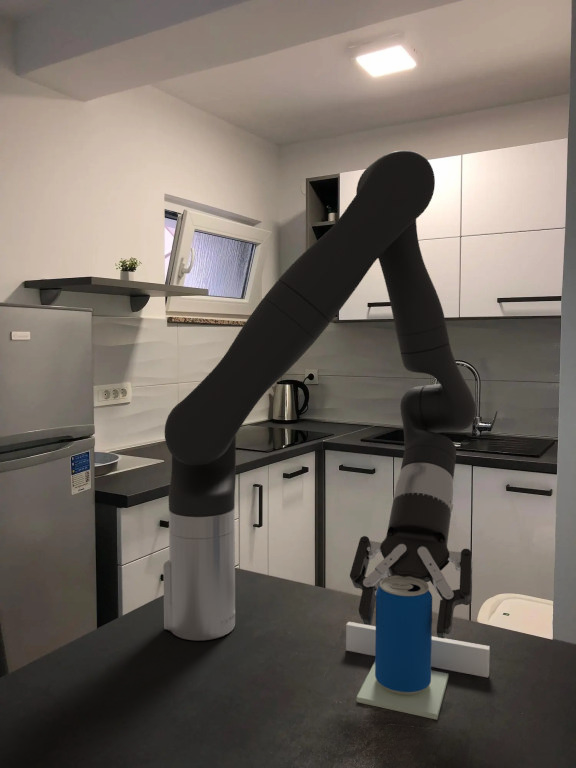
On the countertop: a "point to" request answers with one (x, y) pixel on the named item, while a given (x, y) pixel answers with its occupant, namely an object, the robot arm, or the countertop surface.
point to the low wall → (442, 651)
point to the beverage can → (403, 635)
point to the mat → (405, 696)
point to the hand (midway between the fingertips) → (402, 629)
